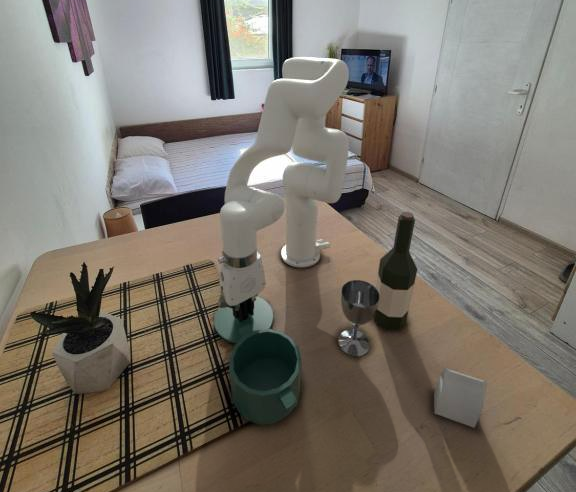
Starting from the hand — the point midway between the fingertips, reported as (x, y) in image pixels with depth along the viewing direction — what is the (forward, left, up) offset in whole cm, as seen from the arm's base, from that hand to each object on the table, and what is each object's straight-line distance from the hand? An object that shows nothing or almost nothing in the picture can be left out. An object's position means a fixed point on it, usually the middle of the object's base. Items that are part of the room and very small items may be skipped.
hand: (243, 314), depth 80 cm
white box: (-34, +33, -2) cm, 47 cm away
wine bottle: (-35, +10, -2) cm, 37 cm away
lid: (0, 0, -1) cm, 1 cm away
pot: (-1, +18, -2) cm, 18 cm away
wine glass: (-23, +14, -2) cm, 27 cm away
